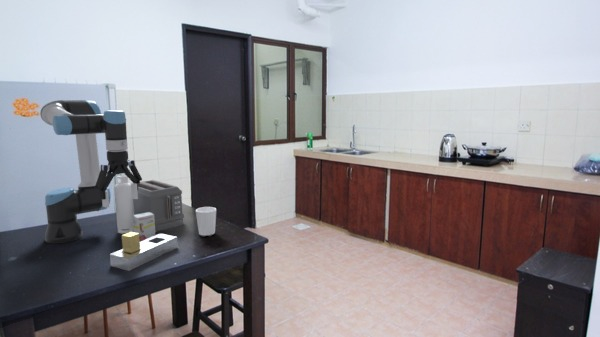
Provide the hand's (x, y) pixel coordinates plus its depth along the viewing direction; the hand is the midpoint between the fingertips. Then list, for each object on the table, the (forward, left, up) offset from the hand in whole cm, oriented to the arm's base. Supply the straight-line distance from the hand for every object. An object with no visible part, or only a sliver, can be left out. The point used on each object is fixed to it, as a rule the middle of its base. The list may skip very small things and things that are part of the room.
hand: (120, 202), depth 149 cm
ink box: (-11, +20, -24) cm, 33 cm away
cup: (+12, +37, -24) cm, 46 cm away
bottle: (-28, +24, -24) cm, 44 cm away
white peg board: (+6, +5, -24) cm, 25 cm away
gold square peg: (+6, -2, -24) cm, 25 cm away
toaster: (-27, +41, -24) cm, 55 cm away
